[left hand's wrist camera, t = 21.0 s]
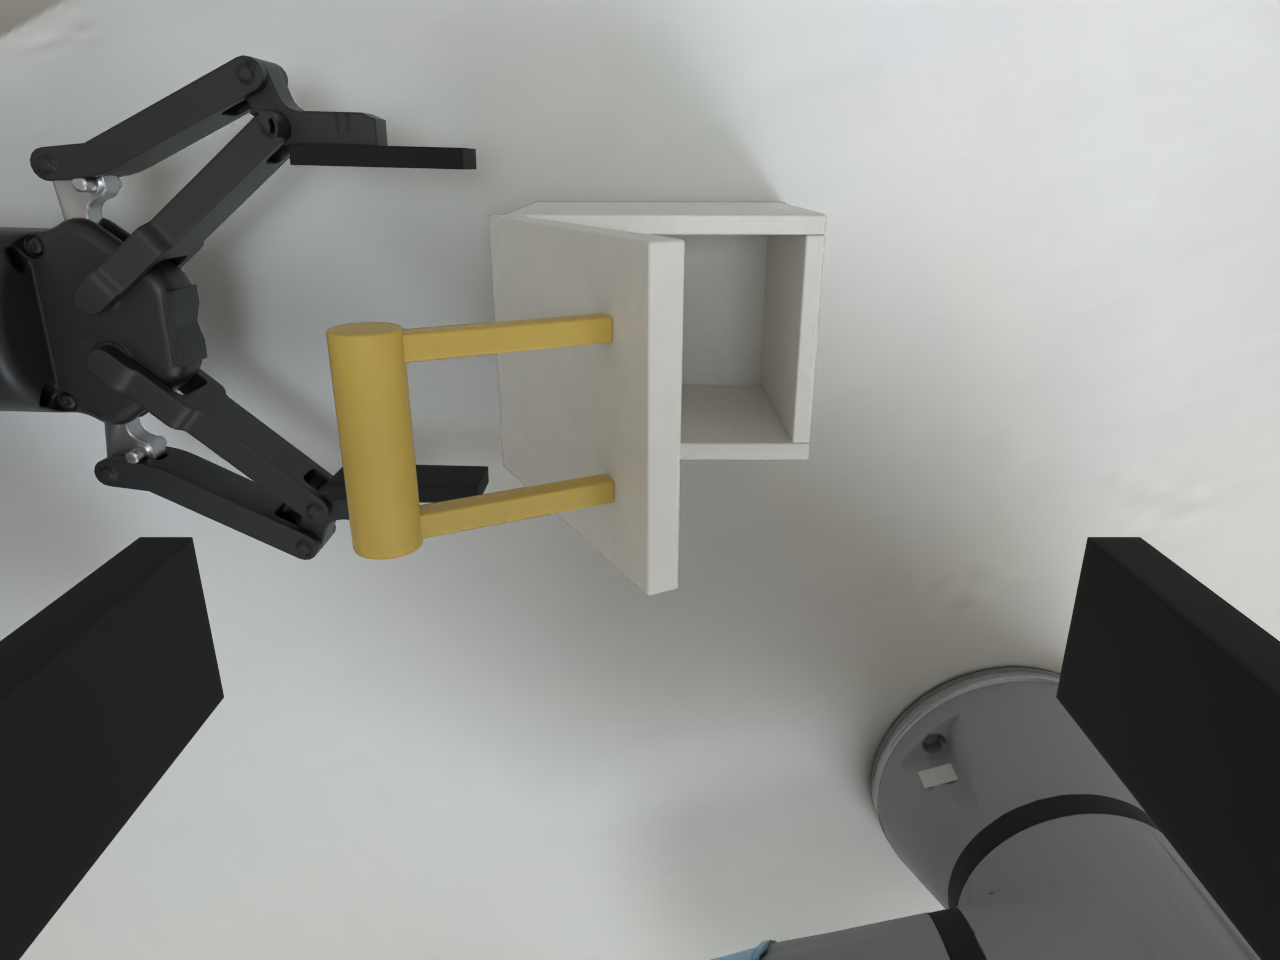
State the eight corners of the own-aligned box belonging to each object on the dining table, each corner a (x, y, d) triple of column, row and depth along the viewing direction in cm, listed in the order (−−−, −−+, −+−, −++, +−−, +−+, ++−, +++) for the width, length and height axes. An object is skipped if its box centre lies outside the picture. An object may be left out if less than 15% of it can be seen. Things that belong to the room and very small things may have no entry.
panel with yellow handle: (686, 239, 21) (332, 254, 17) (678, 589, 24) (381, 663, 20) (514, 214, 31) (270, 220, 27) (526, 462, 34) (309, 497, 30)
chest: (782, 202, 41) (827, 214, 31) (771, 394, 44) (809, 460, 34) (535, 201, 41) (503, 213, 31) (543, 394, 44) (516, 460, 34)
